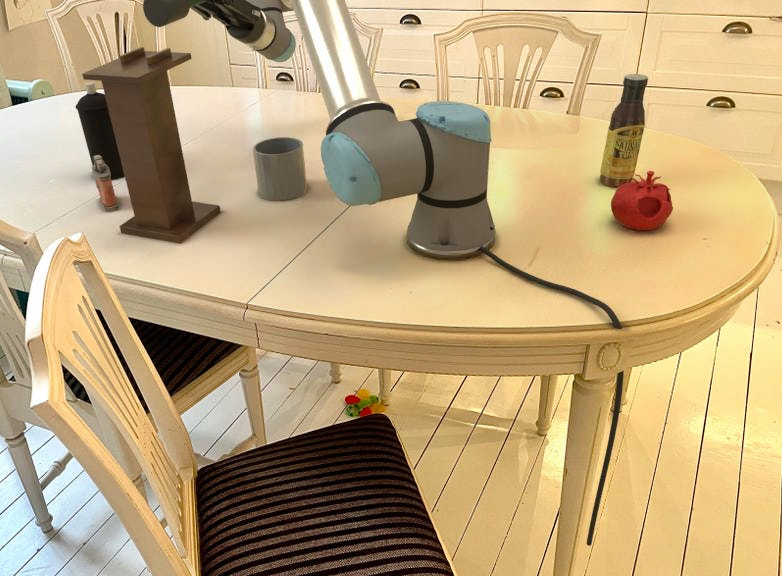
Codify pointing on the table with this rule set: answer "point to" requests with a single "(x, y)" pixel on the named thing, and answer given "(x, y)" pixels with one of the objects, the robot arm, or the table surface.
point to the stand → (151, 145)
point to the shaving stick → (167, 10)
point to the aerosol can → (99, 130)
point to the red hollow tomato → (642, 203)
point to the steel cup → (280, 168)
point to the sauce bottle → (625, 133)
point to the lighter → (104, 184)
